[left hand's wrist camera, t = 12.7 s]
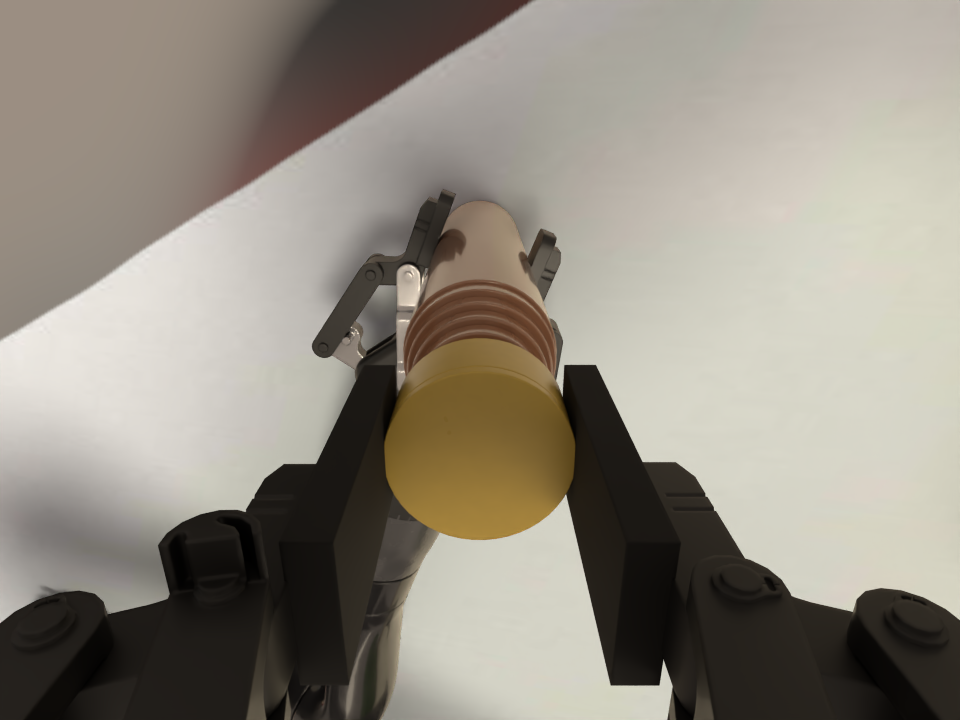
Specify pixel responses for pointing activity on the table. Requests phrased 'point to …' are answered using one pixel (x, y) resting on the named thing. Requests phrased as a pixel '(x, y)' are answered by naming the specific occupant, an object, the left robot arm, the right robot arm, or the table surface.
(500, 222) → the bottle
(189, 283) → the table surface
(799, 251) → the table surface
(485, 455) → the cap
